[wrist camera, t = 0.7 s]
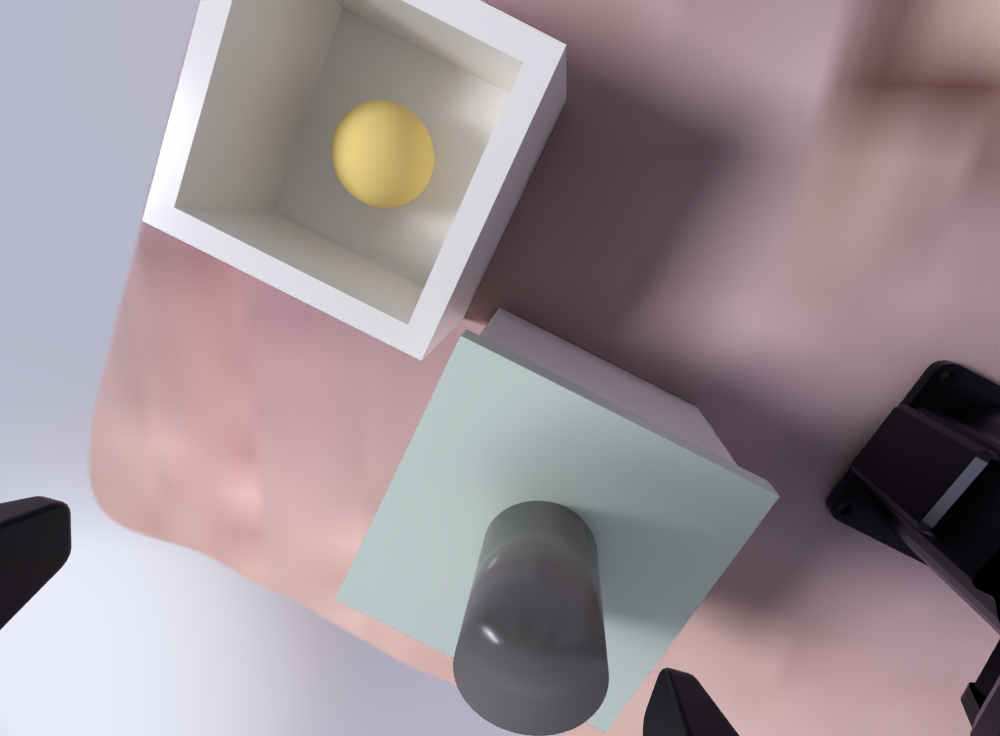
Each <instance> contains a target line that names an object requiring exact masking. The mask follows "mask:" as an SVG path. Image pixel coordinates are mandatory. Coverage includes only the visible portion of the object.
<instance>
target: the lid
mask: <svg viewBox="0 0 1000 736" xmlns="http://www.w3.org/2000/svg"><path fill="white" fill-rule="evenodd" d="M779 497H780V496H779V495H778V493H777V492H776V491H775V489H774V488H773V487H772V485H771V484H770V483H769V481H767V480H765V479H763V478H761V477H759V476H757V475H755V474H753V473H751V472H749V471H747V470H745V469H743V468H741V467H739V466H737V465H735V464H733V463H731V462H729V461H727V460H725V459H723V458H721V457H719V456H718V455H716V454H714V453H712V452H710V451H708V450H706V449H704V448H702V447H700V446H698V445H696V444H694V443H692V442H690V441H688V440H686V439H684V438H682V437H680V436H678V435H676V434H674V433H672V432H670V431H668V430H666V429H664V428H662V427H660V426H658V425H656V424H654V423H652V422H650V421H648V420H646V419H644V418H642V417H640V416H638V415H636V414H634V413H632V412H630V411H628V410H626V409H624V408H622V407H620V406H618V405H616V404H614V403H612V402H610V401H608V400H606V399H604V398H602V397H600V396H598V395H596V394H594V393H592V392H590V391H588V390H586V389H585V388H583V387H581V386H579V385H577V384H575V383H573V382H571V381H569V380H567V379H565V378H563V377H561V376H559V375H557V374H555V373H553V372H551V371H549V370H547V369H545V368H543V367H541V366H539V365H537V364H535V363H533V362H531V361H529V360H527V359H525V358H523V357H521V356H519V355H517V354H515V353H513V352H511V351H509V350H507V349H505V348H503V347H501V346H499V345H497V344H495V343H493V342H491V341H489V340H487V339H485V338H483V337H481V336H479V335H477V334H475V333H473V332H471V331H469V330H467V329H466V330H465V331H464V333H463V334H462V335H461V336H460V338H459V340H458V342H457V345H456V347H455V349H454V351H453V353H452V355H451V357H450V359H449V361H448V363H447V366H446V368H445V370H444V372H443V374H442V376H441V378H440V380H439V382H438V384H437V387H436V389H435V391H434V393H433V395H432V397H431V399H430V401H429V403H428V406H427V408H426V410H425V412H424V414H423V416H422V418H421V420H420V422H419V424H418V427H417V429H416V431H415V433H414V435H413V437H412V439H411V441H410V443H409V445H408V448H407V450H406V452H405V454H404V456H403V458H402V460H401V462H400V464H399V466H398V469H397V471H396V473H395V475H394V477H393V479H392V481H391V483H390V485H389V488H388V490H387V492H386V494H385V496H384V498H383V500H382V502H381V504H380V506H379V509H378V511H377V513H376V515H375V517H374V519H373V521H372V523H371V525H370V527H369V530H368V532H367V534H366V536H365V538H364V540H363V542H362V544H361V546H360V548H359V551H358V553H357V555H356V557H355V559H354V561H353V563H352V565H351V567H350V570H349V572H348V574H347V576H346V578H345V580H344V582H343V584H342V586H341V588H340V591H339V593H338V595H337V597H336V599H335V600H337V601H339V602H341V603H343V604H345V605H347V606H349V607H351V608H353V609H355V610H357V611H359V612H361V613H363V614H365V615H367V616H369V617H371V618H374V619H376V620H378V621H380V622H382V623H384V624H386V625H388V626H390V627H392V628H394V629H396V630H398V631H400V632H402V633H404V634H406V635H408V636H410V637H412V638H414V639H416V640H418V641H420V642H422V643H424V644H426V645H428V646H430V647H432V648H434V649H436V650H438V651H441V652H443V653H445V654H447V655H449V656H451V657H453V658H454V661H453V671H454V677H455V681H456V684H457V687H458V689H459V691H460V693H461V695H462V696H463V698H464V699H465V701H466V702H467V703H468V704H469V706H470V707H471V708H472V709H473V710H474V711H475V712H476V713H478V714H479V715H480V716H481V717H483V718H484V719H485V720H487V721H489V722H490V723H492V724H494V725H496V726H498V727H500V728H502V729H505V730H508V731H511V732H514V733H519V734H524V735H534V736H545V735H554V734H558V733H563V732H566V731H569V730H571V729H574V728H576V727H578V726H580V725H581V724H583V723H584V722H585V723H587V724H589V725H591V726H593V727H595V728H597V729H599V730H601V731H603V732H606V731H607V729H608V728H609V727H610V725H611V724H612V723H613V721H614V720H615V718H616V717H617V716H618V714H619V713H620V712H621V710H622V709H623V708H624V706H625V705H626V704H627V702H628V701H629V700H630V698H631V697H632V696H633V694H634V693H635V691H636V690H637V689H638V687H639V686H640V685H641V683H642V682H643V681H644V679H645V678H646V677H647V675H648V674H649V673H650V671H651V670H652V668H653V667H654V666H655V664H656V663H657V662H658V660H659V659H660V658H661V656H662V655H663V654H664V652H665V651H666V650H667V648H668V647H669V646H670V644H671V643H672V641H673V640H674V639H675V637H676V636H677V635H678V633H679V632H680V631H681V629H682V628H683V627H684V625H685V624H686V623H687V621H688V620H689V618H690V617H691V616H692V614H693V613H694V612H695V610H696V609H697V608H698V606H699V605H700V604H701V602H702V601H703V600H704V598H705V597H706V595H707V594H708V593H709V591H710V590H711V589H712V587H713V586H714V585H715V583H716V582H717V581H718V579H719V578H720V577H721V575H722V574H723V573H724V571H725V570H726V568H727V567H728V566H729V564H730V563H731V562H732V560H733V559H734V558H735V556H736V555H737V554H738V552H739V551H740V550H741V548H742V547H743V545H744V544H745V543H746V541H747V540H748V539H749V537H750V536H751V535H752V533H753V532H754V531H755V529H756V528H757V527H758V525H759V524H760V522H761V521H762V520H763V518H764V517H765V516H766V514H767V513H768V512H769V510H770V509H771V508H772V506H773V505H774V504H775V502H776V501H777V500H778V498H779Z"/></svg>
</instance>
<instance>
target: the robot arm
mask: <svg viewBox="0 0 1000 736" xmlns="http://www.w3.org/2000/svg"><path fill="white" fill-rule="evenodd" d="M946 371H949V376H948V378H947V379H946V380H945V381H942V382H941V381H940V377H941V375H942V374H943V373H944V372H946ZM845 502H847V503H848V504H847V506H846V507H845V508H844V509H840V510H839V509H838V507H839V505H840V504H842V503H845ZM826 508H827V510H828V512H829V513H830V514H831V515H832V516H833V517H834V518H835V519H837V520H838V521H840V522H842V523H844V524H846V525H848V526H850V527H852V528H854V529H856V530H858V531H860V532H862V533H864V534H866V535H868V536H870V537H872V538H874V539H876V540H878V541H880V542H882V543H884V544H886V545H888V546H890V547H892V548H894V549H896V550H898V551H900V552H902V553H904V554H906V555H908V556H910V557H912V558H914V559H916V560H918V561H920V562H922V563H924V564H926V565H928V566H929V567H930V568H931V569H932V570H933V571H934V572H935V573H936V574H937V575H938V576H939V577H940V578H942V579H943V580H944V581H945V582H946V583H947V584H948V585H949V586H950V587H951V588H952V589H953V590H954V591H955V592H956V593H957V594H958V595H959V596H960V597H961V598H962V599H963V600H964V601H965V602H966V603H967V604H969V605H970V606H971V607H972V608H973V609H974V610H975V611H976V612H977V613H978V614H979V615H980V616H981V617H982V618H983V619H984V620H985V621H986V622H987V623H988V624H989V625H990V626H991V627H992V628H993V629H994V630H996V631H997V632H998V633H999V634H1000V386H999V385H997V384H995V383H993V382H991V381H989V380H987V379H985V378H983V377H981V376H980V375H978V374H976V373H974V372H972V371H970V370H968V369H966V368H964V367H962V366H960V365H958V364H955V363H952V362H949V361H946V360H943V361H937V362H935V363H933V364H931V365H930V366H929V367H928V368H927V369H926V371H925V372H924V373H923V375H922V376H921V377H920V379H919V380H918V381H917V382H916V384H915V385H914V386H913V388H912V389H911V390H910V391H909V393H908V394H907V395H906V397H905V398H904V399H903V401H902V402H901V403H900V404H899V406H898V407H895V408H894V409H893V410H892V412H891V413H890V414H889V416H888V417H887V418H886V420H885V421H884V422H883V423H882V425H881V426H880V427H879V429H878V430H877V431H876V433H875V434H874V435H873V436H872V438H871V439H870V440H869V442H868V443H867V444H866V445H865V447H864V448H863V449H862V451H861V452H860V453H859V455H858V456H857V457H856V458H855V460H854V461H853V463H852V467H851V468H850V469H849V470H848V472H847V473H846V474H845V476H844V477H843V478H842V480H841V481H840V482H839V483H838V485H837V486H836V487H835V489H834V490H833V491H832V492H831V494H830V495H829V496H828V498H827V500H826ZM70 552H71V514H70V509H69V507H68V505H67V504H65V503H64V502H62V501H58V500H54V499H51V498H47V497H42V496H36V497H30V498H25V499H20V500H15V501H10V502H5V503H0V630H1V629H2V628H3V627H4V626H5V624H6V623H7V622H8V621H9V620H10V619H11V618H12V617H13V616H14V615H15V614H16V613H17V612H18V611H19V610H20V609H21V608H22V607H23V606H24V605H25V604H26V603H27V602H28V601H29V600H30V599H31V598H32V597H33V596H34V595H35V594H36V593H37V592H38V591H39V590H40V589H41V588H42V587H43V586H44V585H45V584H46V582H48V581H49V580H50V579H51V578H52V577H53V576H54V575H55V574H56V573H57V572H58V571H59V570H60V569H61V567H62V566H63V565H64V564H65V562H66V561H67V559H68V557H69V555H70ZM961 702H962V704H963V707H964V709H965V712H966V714H967V717H968V719H969V721H970V724H971V726H972V731H971V733H970V735H971V736H1000V640H999V642H998V643H997V645H996V647H995V649H994V650H993V652H992V654H991V656H990V658H989V659H988V661H987V663H986V665H985V666H984V668H983V670H982V672H981V674H980V675H979V677H978V679H977V681H976V682H975V683H972V682H970V683H969V684H968V686H967V688H966V689H965V691H964V693H963V695H962V696H961ZM643 736H739V735H738V733H737V732H736V731H735V729H734V728H733V727H732V725H731V724H730V723H729V721H728V720H727V719H726V717H725V716H724V715H723V713H722V712H721V711H720V709H719V708H718V707H717V705H716V704H715V703H714V701H713V700H712V699H711V697H710V696H709V695H708V693H707V692H706V691H705V689H704V688H703V687H702V685H701V684H700V683H699V681H698V680H697V679H696V678H695V677H694V676H693V675H691V674H689V673H685V672H682V671H678V670H674V669H671V668H664V669H662V671H661V672H660V673H659V676H658V678H657V681H656V684H655V687H654V689H653V692H652V695H651V698H650V701H649V703H648V706H647V709H646V712H645V716H644V723H643Z"/></svg>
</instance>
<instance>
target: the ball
mask: <svg viewBox="0 0 1000 736" xmlns="http://www.w3.org/2000/svg"><path fill="white" fill-rule="evenodd" d="M331 157H332V162H333V166H334V169H335V172H336V174H337V176H338V178H339V180H340V182H341V183H342V185H343V186H344V187H345V189H346V190H347V191H348V192H349V193H350V194H352V195H353V196H354V197H355V198H357V199H358V200H360V201H361V202H363V203H365V204H368V205H371V206H374V207H379V208H394V207H399V206H402V205H405V204H407V203H409V202H411V201H412V200H414V199H415V198H416V197H417V196H419V195H420V194H421V193H422V191H423V190H424V189H425V187H426V186H427V184H428V182H429V180H430V178H431V175H432V172H433V168H434V149H433V144H432V141H431V137H430V135H429V133H428V131H427V129H426V127H425V126H424V124H423V123H422V122H421V120H420V119H419V118H418V117H417V116H416V115H415V114H414V113H413V112H411V111H410V110H409V109H407V108H406V107H404V106H402V105H400V104H397V103H395V102H391V101H387V100H371V101H366V102H363V103H360V104H358V105H356V106H355V107H353V108H352V109H350V110H349V111H348V112H347V113H346V114H345V115H344V116H343V117H342V118H341V120H340V121H339V123H338V124H337V126H336V128H335V131H334V134H333V137H332V143H331Z"/></svg>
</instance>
